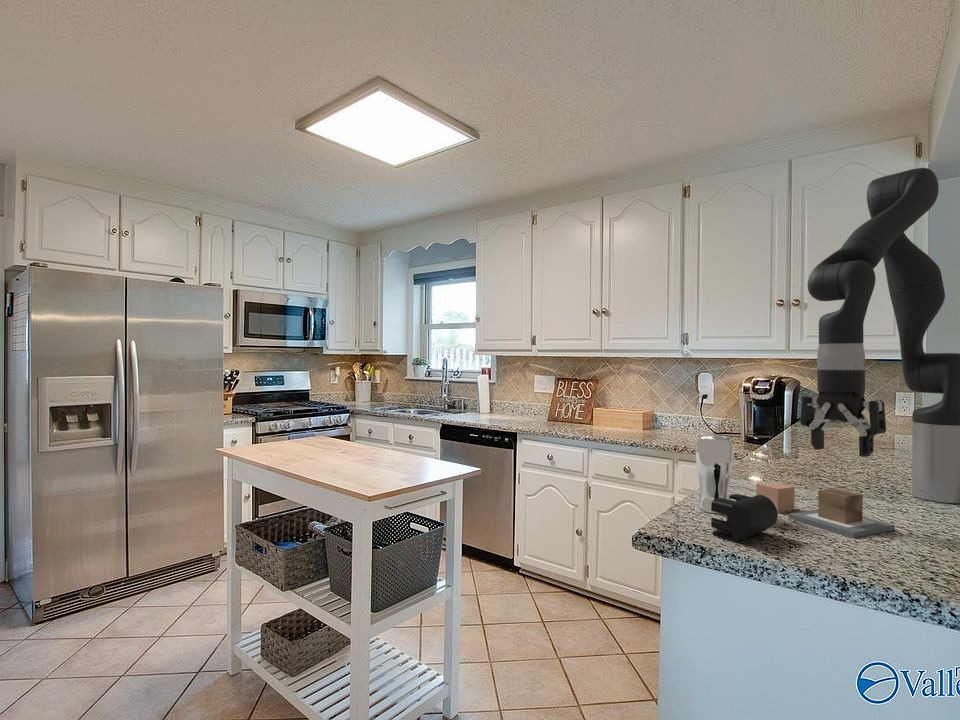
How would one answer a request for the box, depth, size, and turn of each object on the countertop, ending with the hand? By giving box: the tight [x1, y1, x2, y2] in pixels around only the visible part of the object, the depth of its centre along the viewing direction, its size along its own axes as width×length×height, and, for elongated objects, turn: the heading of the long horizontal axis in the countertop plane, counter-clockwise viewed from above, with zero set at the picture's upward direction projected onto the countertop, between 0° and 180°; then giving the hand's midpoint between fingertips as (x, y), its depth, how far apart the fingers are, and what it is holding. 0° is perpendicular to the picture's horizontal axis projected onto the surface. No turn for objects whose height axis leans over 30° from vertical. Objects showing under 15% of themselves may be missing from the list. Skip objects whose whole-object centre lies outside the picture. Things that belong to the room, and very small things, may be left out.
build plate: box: [788, 509, 896, 539], centre depth 98 cm, size 12×12×1 cm
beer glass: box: [695, 434, 734, 515], centre depth 107 cm, size 7×7×15 cm
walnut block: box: [817, 488, 864, 524], centre depth 98 cm, size 5×5×5 cm
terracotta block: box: [755, 481, 796, 513], centre depth 109 cm, size 5×5×5 cm
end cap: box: [710, 493, 779, 543], centre depth 91 cm, size 10×7×7 cm
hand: (840, 452), depth 98 cm, fingers open, 8 cm apart
